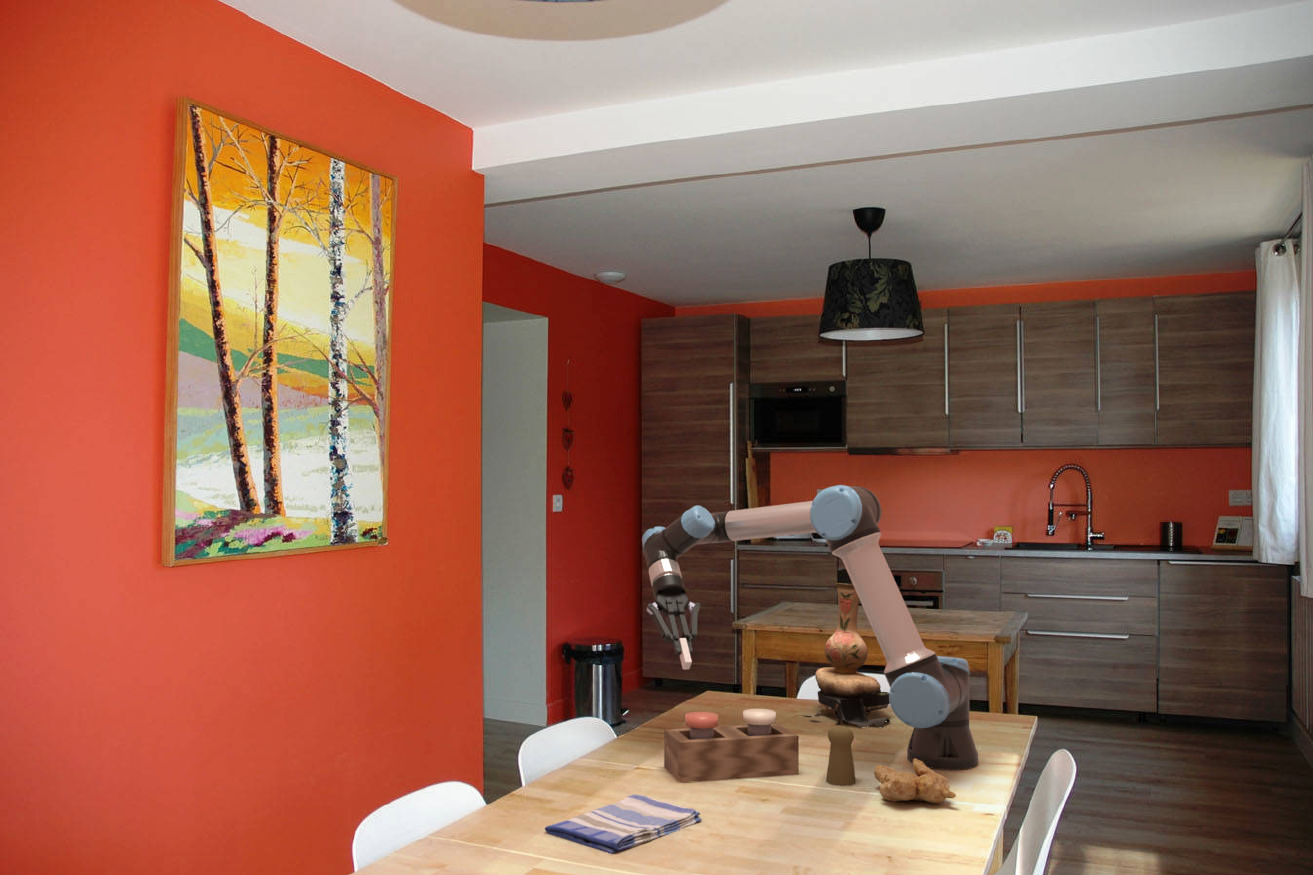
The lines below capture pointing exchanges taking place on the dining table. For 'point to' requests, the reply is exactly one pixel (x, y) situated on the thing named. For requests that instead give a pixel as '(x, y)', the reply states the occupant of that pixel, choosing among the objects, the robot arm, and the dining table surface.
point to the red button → (701, 724)
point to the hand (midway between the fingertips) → (687, 665)
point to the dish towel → (625, 823)
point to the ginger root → (913, 784)
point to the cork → (840, 757)
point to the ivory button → (759, 721)
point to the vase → (849, 669)
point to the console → (731, 754)
